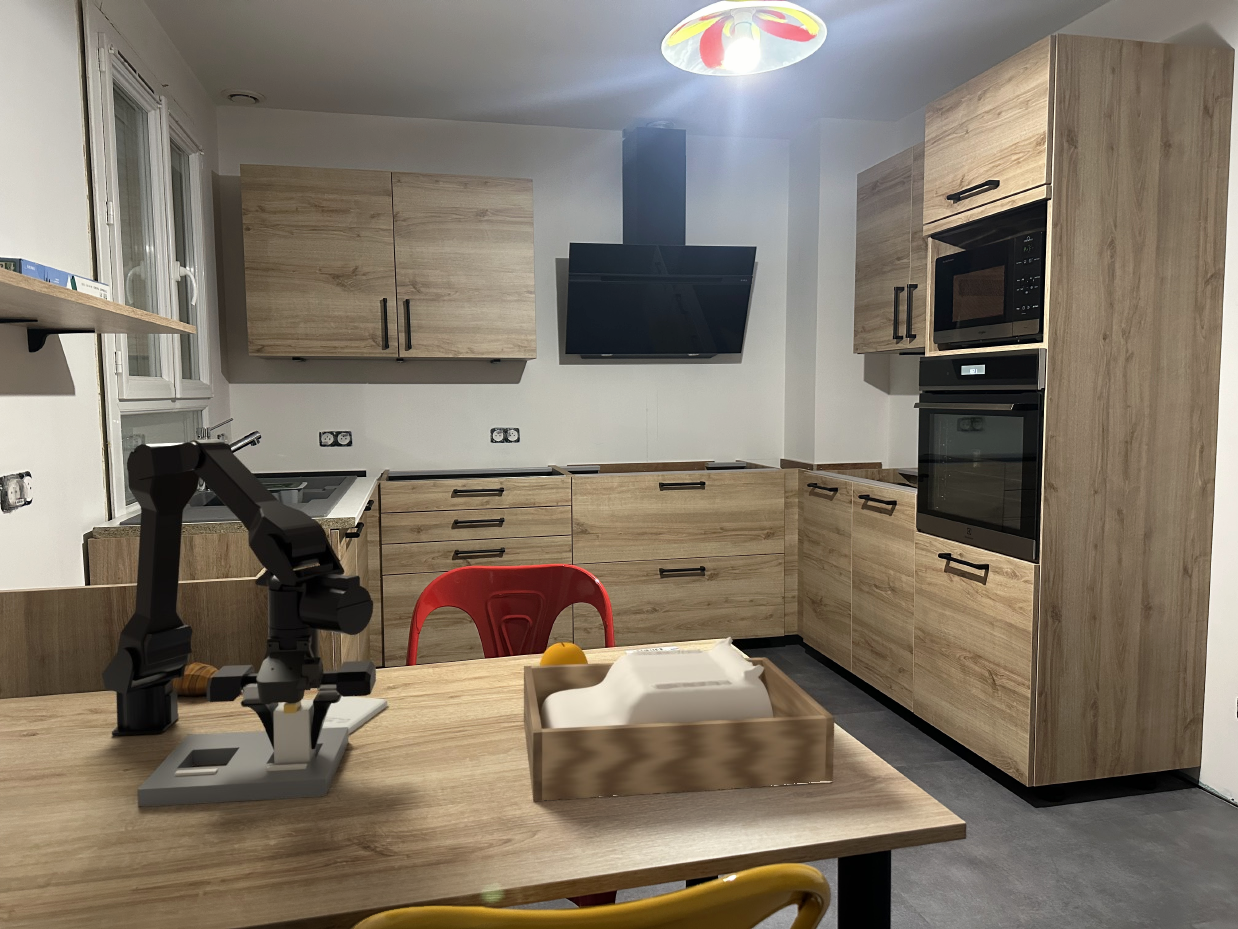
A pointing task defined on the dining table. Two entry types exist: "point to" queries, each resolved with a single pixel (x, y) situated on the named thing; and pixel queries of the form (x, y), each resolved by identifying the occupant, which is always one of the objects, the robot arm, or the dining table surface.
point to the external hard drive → (352, 712)
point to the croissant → (194, 679)
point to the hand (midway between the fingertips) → (295, 749)
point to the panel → (240, 770)
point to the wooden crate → (674, 744)
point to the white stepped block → (665, 691)
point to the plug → (293, 732)
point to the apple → (563, 655)
